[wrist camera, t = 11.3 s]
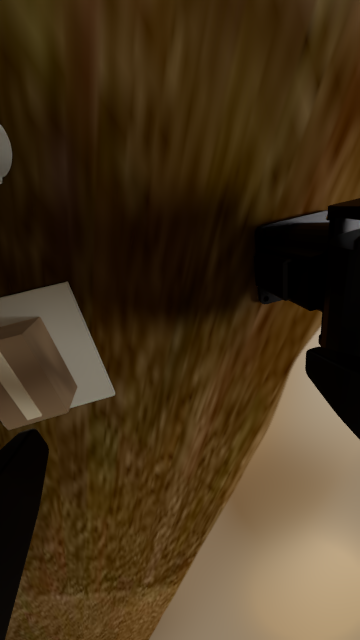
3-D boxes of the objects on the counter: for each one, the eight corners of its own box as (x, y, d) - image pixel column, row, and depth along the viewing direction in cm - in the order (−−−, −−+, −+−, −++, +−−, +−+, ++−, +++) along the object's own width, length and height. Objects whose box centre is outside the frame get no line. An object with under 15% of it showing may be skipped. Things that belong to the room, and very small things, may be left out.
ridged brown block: (77, 386, 20) (67, 414, 17) (26, 401, 19) (7, 432, 17) (40, 316, 17) (20, 335, 14) (-22, 332, 17) (-55, 354, 14)
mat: (67, 281, 17) (66, 282, 16) (115, 392, 21) (114, 395, 21) (-74, 315, 16) (-79, 317, 15) (7, 422, 20) (5, 426, 20)
